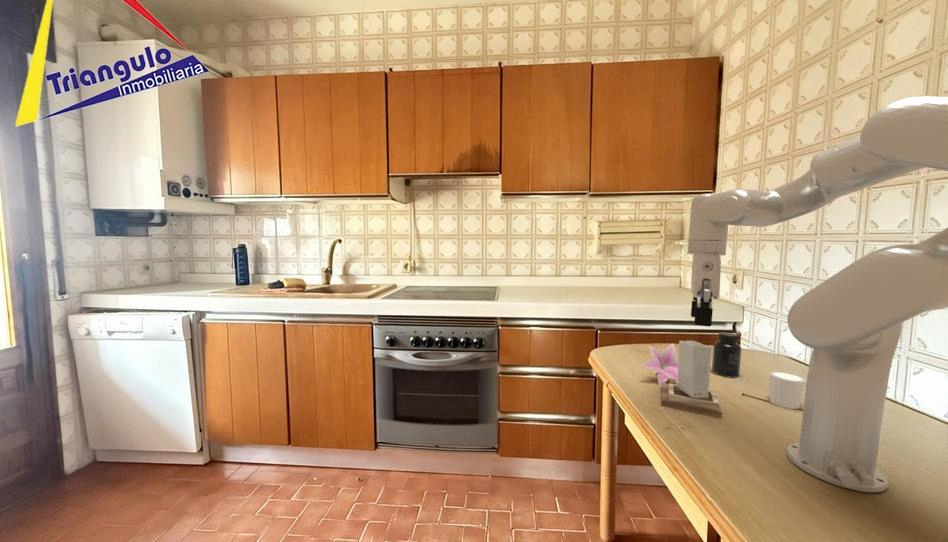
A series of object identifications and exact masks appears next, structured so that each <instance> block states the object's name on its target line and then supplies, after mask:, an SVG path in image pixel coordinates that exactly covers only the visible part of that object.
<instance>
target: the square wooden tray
mask: <svg viewBox="0 0 948 542" xmlns="http://www.w3.org/2000/svg"><path fill="white" fill-rule="evenodd" d="M677 386H678V384H677V383H676V379H673V378H670V379H669V383H667V382H665V383H662V384H661V386H660V388H661V389H660V393H661V394H660V400H661V401H660V405H661V406H662V407H666V408H672V409H675V410H676V409H678V410H681V411H686V412H691V413H695V414H699V415H700V414H701V415H704V416H709V417H715V418H719V419H722V417H723V412H722V409H721V405H720V403H719V402H720V401H719V400H718V397H717V394H716V391H715V390H714V391H713V390H709V393H708V398H692V397H690V396H689V395H688V394H686V393H685V392H683V391H682V390H680V389H679V388H678V387H677Z"/></svg>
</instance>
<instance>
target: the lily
mask: <svg viewBox="0 0 948 542" xmlns="http://www.w3.org/2000/svg"><path fill="white" fill-rule="evenodd" d="M649 350H650V353H651V355H652V358H650V359H647V360H646V361H645V362H643V363H642V364H641V365H642V367H644V368H646V369H647V370H651V371H652V372H656V373H655V375H656V376H657V383H658V386H659V387H661V384H662V383H667V381H668V379H669V380H670V378H673V379H676V385H678V362H679V359H677V351H676V346H675V344H674V343H670V344H669V345H668V346H667V347H665V348H664V349H663V351H662V352H661V351H660V350H659V349H657V348H655V347H653V346H651V345H649Z"/></svg>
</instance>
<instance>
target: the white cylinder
mask: <svg viewBox="0 0 948 542" xmlns="http://www.w3.org/2000/svg"><path fill="white" fill-rule="evenodd" d="M806 384H807V379H806V378H804V377H803V376H800V375H796V374H793V373H789V372H784V371H769V402H770V403H772V404H774V405H775V406H778V407H781V408H784V409H790V410H798V409H799V408H800V407H801V402H802V399H803V395H804V390H805V388H806V387H805V386H806Z"/></svg>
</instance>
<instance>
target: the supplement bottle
mask: <svg viewBox="0 0 948 542" xmlns="http://www.w3.org/2000/svg"><path fill="white" fill-rule="evenodd" d="M717 339H718V340H717V341H715V342H714V344H713V349H712V351H713V352H712V362H711V363H712V364H711V371H712V370H713V371H714V372H716V373H718V374H721V375H725V376H724V377H726V376H730V377H729V378H737V377H739V376H740V369H741V358H742V347H741V345H740V344H738V342H739V335H738V334H735V333H732V332H724V331H723V332H718V337H717ZM713 371H712V372H713ZM714 372H713V373H714ZM716 373H715V374H716ZM718 374H717V375H718ZM721 375H720V376H721Z"/></svg>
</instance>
